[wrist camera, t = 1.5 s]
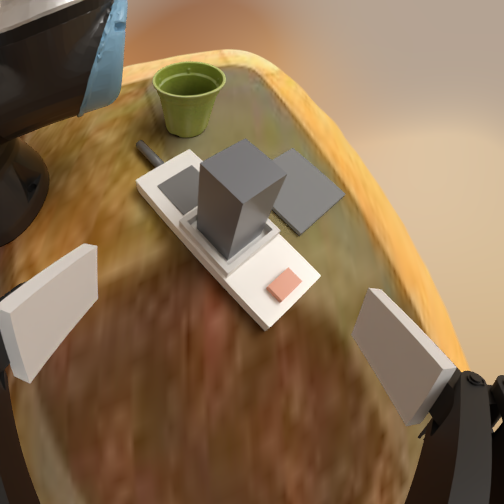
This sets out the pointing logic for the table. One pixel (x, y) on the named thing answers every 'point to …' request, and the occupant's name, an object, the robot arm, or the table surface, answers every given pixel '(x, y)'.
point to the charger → (236, 196)
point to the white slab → (225, 272)
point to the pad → (303, 192)
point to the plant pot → (188, 95)
